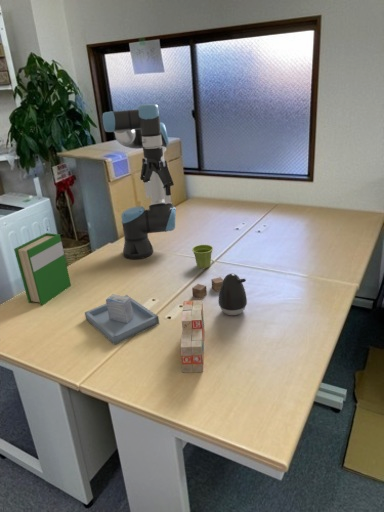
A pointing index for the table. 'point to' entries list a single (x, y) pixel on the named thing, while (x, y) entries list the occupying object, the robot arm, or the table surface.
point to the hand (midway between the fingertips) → (158, 200)
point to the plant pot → (203, 255)
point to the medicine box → (119, 308)
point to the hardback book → (43, 268)
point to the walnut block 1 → (199, 291)
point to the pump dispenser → (232, 295)
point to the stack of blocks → (192, 336)
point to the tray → (119, 329)
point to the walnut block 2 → (217, 283)
